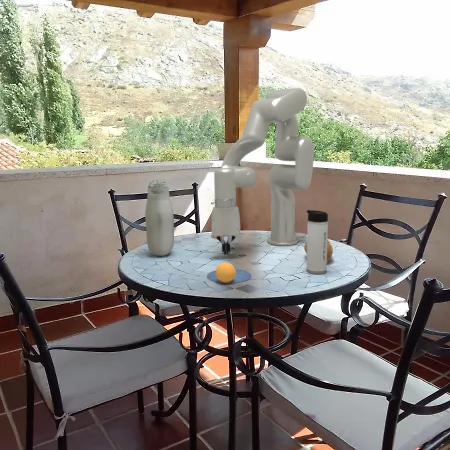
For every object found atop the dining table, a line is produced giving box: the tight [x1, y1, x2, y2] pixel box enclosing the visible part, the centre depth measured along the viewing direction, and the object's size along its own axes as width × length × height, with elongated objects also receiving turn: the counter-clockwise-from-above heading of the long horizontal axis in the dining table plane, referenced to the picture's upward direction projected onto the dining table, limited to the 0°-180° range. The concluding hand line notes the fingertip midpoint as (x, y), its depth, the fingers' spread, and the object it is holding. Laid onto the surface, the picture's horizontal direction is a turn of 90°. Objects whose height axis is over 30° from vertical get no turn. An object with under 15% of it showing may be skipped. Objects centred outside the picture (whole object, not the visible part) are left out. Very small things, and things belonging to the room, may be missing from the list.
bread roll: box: [304, 239, 334, 263], centre depth 154 cm, size 10×15×8 cm, turn 178°
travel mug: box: [306, 209, 329, 275], centre depth 139 cm, size 6×7×20 cm
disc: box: [206, 268, 252, 284], centre depth 138 cm, size 14×14×1 cm
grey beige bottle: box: [144, 179, 175, 257], centre depth 161 cm, size 10×10×28 cm
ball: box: [215, 262, 236, 284], centre depth 132 cm, size 6×6×6 cm
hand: (226, 253), depth 159 cm, fingers closed
